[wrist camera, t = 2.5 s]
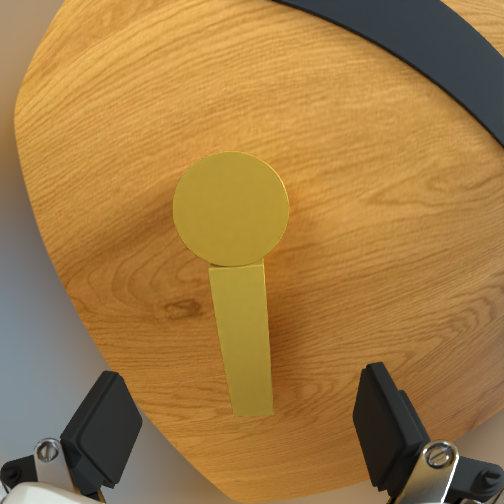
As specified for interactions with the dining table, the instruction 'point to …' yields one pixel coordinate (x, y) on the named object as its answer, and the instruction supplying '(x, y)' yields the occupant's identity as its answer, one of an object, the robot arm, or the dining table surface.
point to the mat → (428, 48)
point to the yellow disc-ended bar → (236, 261)
